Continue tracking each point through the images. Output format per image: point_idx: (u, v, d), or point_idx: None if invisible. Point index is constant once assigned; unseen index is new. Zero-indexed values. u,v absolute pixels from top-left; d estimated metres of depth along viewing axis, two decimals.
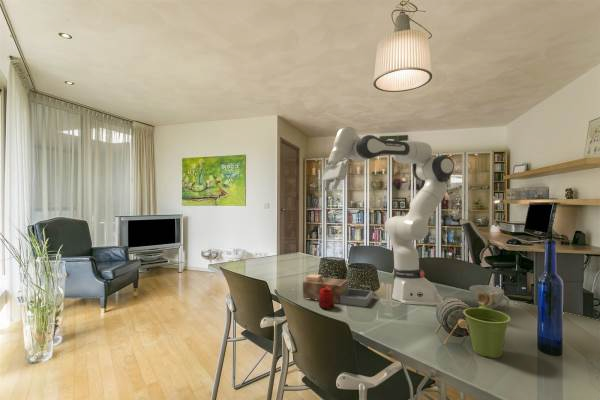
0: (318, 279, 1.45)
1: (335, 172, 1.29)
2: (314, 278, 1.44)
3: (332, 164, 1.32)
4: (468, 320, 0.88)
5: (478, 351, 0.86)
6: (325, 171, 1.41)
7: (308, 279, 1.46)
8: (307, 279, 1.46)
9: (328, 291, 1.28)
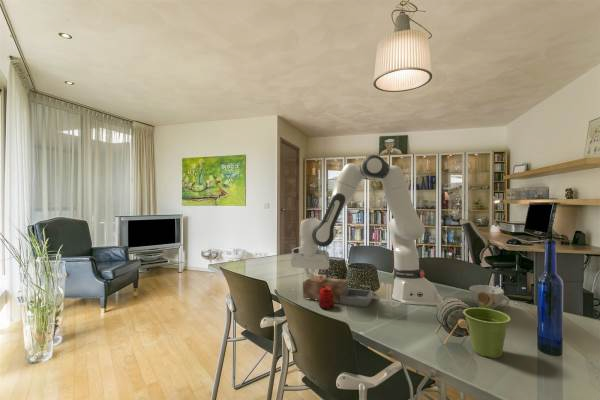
0: (322, 279, 1.44)
1: (317, 263, 1.45)
2: (318, 278, 1.43)
3: (309, 256, 1.46)
4: (468, 320, 0.88)
5: (478, 351, 0.86)
6: (293, 258, 1.51)
7: (312, 279, 1.45)
8: (311, 279, 1.45)
9: (328, 291, 1.28)
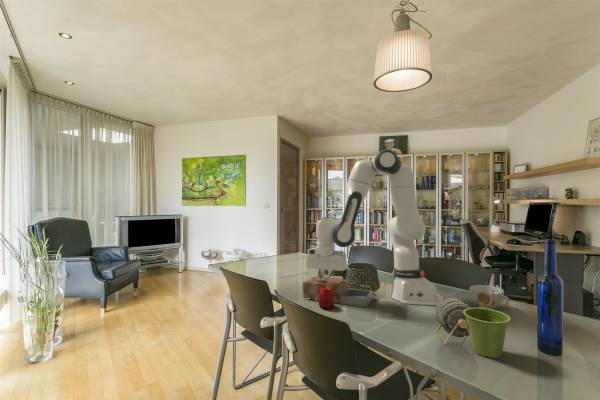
0: (339, 281, 1.40)
1: (334, 264, 1.41)
2: (335, 280, 1.39)
3: (326, 256, 1.42)
4: (468, 320, 0.88)
5: (478, 351, 0.86)
6: (309, 259, 1.47)
7: (328, 281, 1.41)
8: (328, 281, 1.41)
9: (328, 291, 1.28)
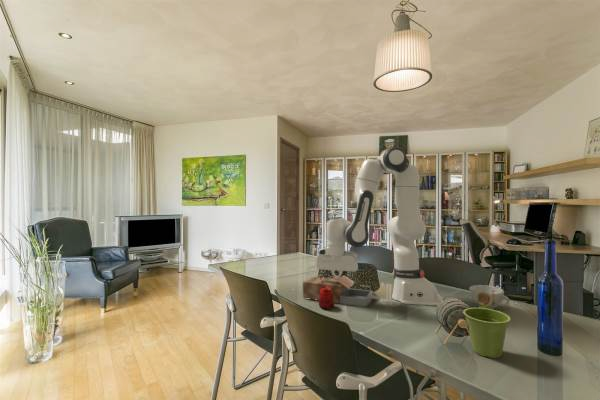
0: (350, 286, 1.38)
1: (345, 265, 1.39)
2: (347, 284, 1.37)
3: (337, 257, 1.40)
4: (468, 320, 0.88)
5: (478, 351, 0.86)
6: (319, 260, 1.44)
7: (340, 281, 1.38)
8: (339, 281, 1.39)
9: (328, 291, 1.28)
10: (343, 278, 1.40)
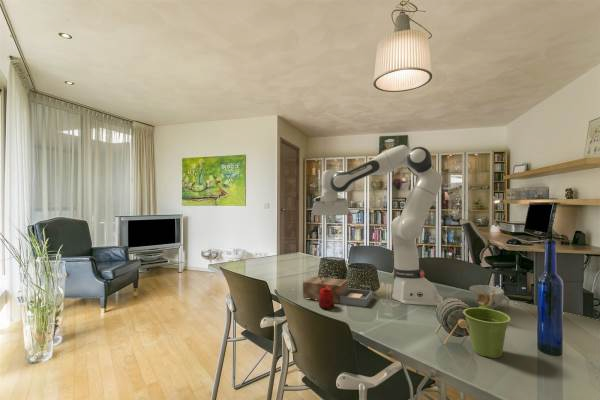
0: None
1: (337, 209, 1.61)
2: None
3: (330, 203, 1.62)
4: (468, 320, 0.88)
5: (478, 351, 0.86)
6: (315, 207, 1.66)
7: None
8: None
9: (328, 291, 1.28)
10: None
